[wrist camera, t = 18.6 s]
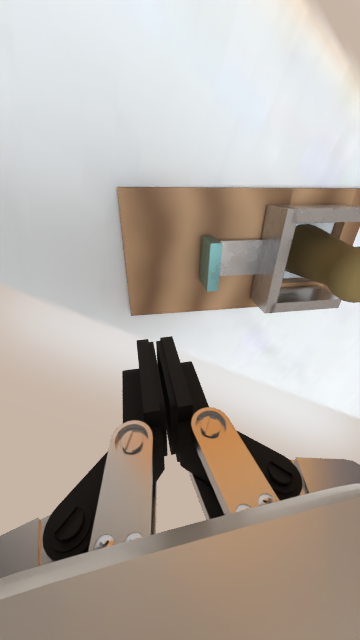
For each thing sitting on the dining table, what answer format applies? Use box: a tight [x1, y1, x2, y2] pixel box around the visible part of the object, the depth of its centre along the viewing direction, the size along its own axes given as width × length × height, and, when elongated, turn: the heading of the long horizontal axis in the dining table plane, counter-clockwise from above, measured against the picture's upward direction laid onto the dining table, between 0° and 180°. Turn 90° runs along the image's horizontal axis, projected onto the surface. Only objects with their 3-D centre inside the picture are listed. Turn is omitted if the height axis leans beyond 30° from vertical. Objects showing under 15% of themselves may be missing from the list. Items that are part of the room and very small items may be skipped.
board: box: [117, 187, 360, 316], centre depth 29 cm, size 28×14×2 cm, turn 89°
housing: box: [199, 204, 360, 313], centre depth 26 cm, size 17×11×4 cm, turn 89°
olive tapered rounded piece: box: [285, 224, 360, 303], centre depth 25 cm, size 6×6×11 cm
